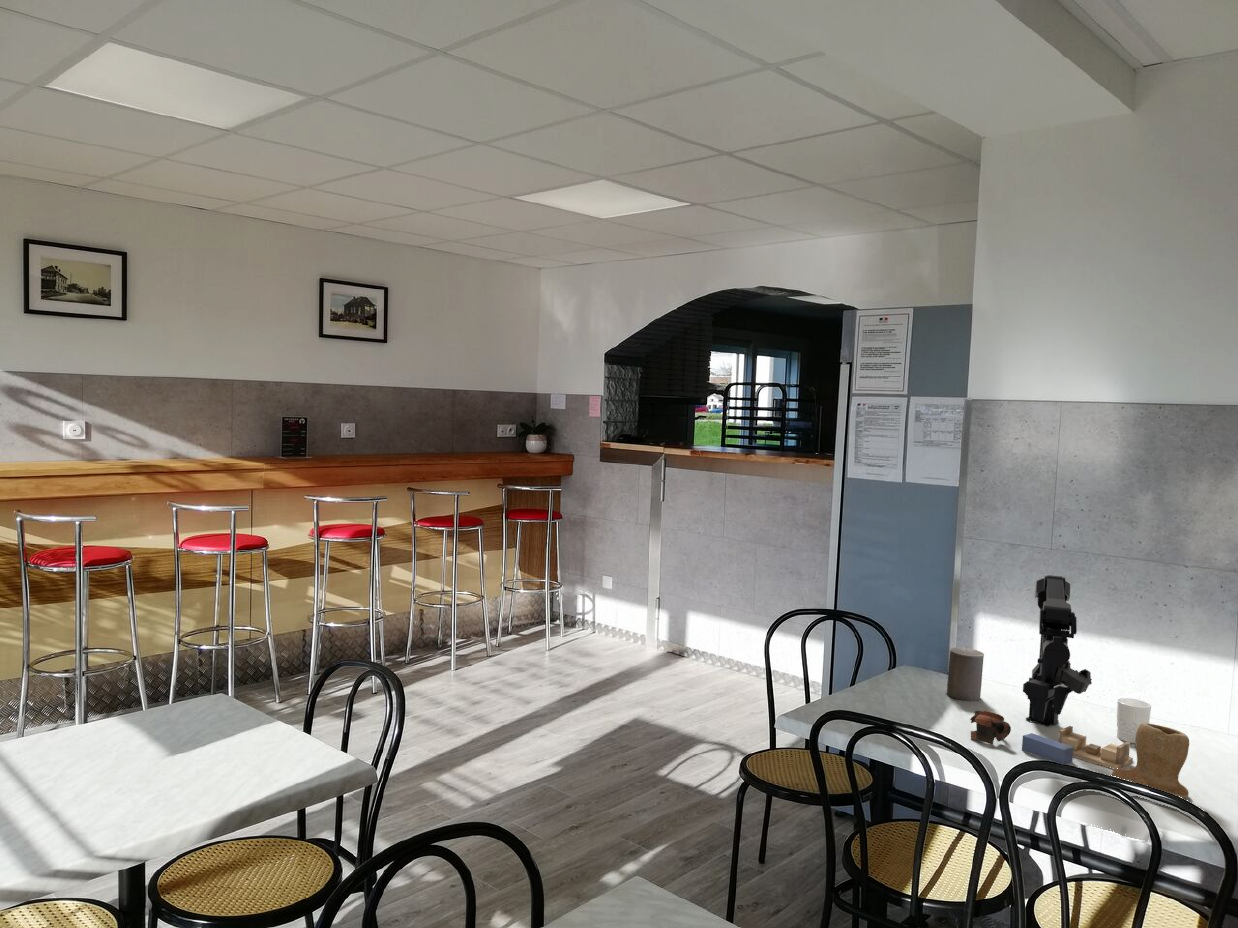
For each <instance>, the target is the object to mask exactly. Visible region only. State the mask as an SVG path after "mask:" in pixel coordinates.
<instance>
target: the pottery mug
mask: <svg viewBox="0 0 1238 928" xmlns="http://www.w3.org/2000/svg"><path fill="white" fill-rule="evenodd" d="M973 713H974V715H972V716H971V718H970V719H969V720H970V723H971V724H973V723H976V724H975V725H976V727H975V728H976V730H971V731H970V740H972V741H979V742H983V743H986V744H990V745H993V744H994V741H995V739H996V741H997V742H1002V741H1003V740H1004V739H1006V738H1007V737H1008V736H1009V735H1010V733H1011V731H1012V727H1011V725H1010V723H1009V722H1007V721H1005V717H1004V716H1003V715H1001V714H1000V713H999V714H998V713H996V712H993V711H987V710H974V712H973Z"/></svg>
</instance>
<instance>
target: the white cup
mask: <svg viewBox="0 0 1238 928" xmlns="http://www.w3.org/2000/svg"><path fill="white" fill-rule="evenodd" d="M1116 703H1117V704H1116V705H1117V707H1116V708H1117V709H1116V726H1117V729H1116V732H1117V733H1116V737H1117V739H1119V740H1120V741H1123V742H1129V743H1130V744H1135V745H1136V742H1135V738H1136V733H1137V730H1138V728H1139V726H1140V724H1142V723H1150V718H1151V713H1152V712H1151V711H1152V704H1151V703H1149V702H1147V701H1144V700H1141V699H1137V698H1136V699H1135V698H1131V697H1130V698H1129V697H1122V698H1121V697H1120V698H1117V702H1116Z"/></svg>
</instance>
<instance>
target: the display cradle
mask: <svg viewBox="0 0 1238 928" xmlns="http://www.w3.org/2000/svg"><path fill="white" fill-rule="evenodd" d="M1073 728H1074V726H1071V725H1069V726H1066V727H1064V728H1062V729H1059V730H1058V731H1059V733H1058V742H1060V743H1063V744H1066V745H1069V746H1072V747H1073V758H1074V759H1078V760H1081V759H1082V761H1085V762H1088V763H1091V762H1092V763H1091V764H1095V765H1098V764H1099V765H1098V766H1101V765H1102V766H1101V767H1104V766H1105V768H1108V767H1111V768H1114V769H1117V768H1120V767H1121V768H1123V767H1125V766H1126V765H1128V764H1130V763H1133V761H1134V760H1133V759H1134V758H1133V757H1132V756H1130V749H1131V748H1130V747H1131V743H1129V742H1126V741H1124V743H1122V744H1120V745H1117V744H1114V743H1110V744H1108V745H1105V746H1103V747H1102V746H1100V745H1098V744H1093V743H1089V744H1087V735H1083V734H1080V733H1075V732H1073ZM1111 768H1110V769H1111ZM1114 769H1113V770H1114Z"/></svg>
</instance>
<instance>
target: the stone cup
mask: <svg viewBox="0 0 1238 928" xmlns="http://www.w3.org/2000/svg"><path fill="white" fill-rule="evenodd" d="M1135 742H1136V744H1135V751H1136V765H1135V766H1134V767H1133V768H1130V769H1129V768H1123V767H1121V768H1118V769H1115V770H1114V769H1113V771H1112V772H1111V774H1110V776H1111V775H1112V776H1116V777H1119V778H1121V779H1125V780H1129V781H1132V782H1135V783H1139V784H1143V785H1148V786H1150V787H1153V788H1156V789H1159V790H1162V791H1165V792H1168V793H1171V794H1174V795H1175V796H1180V797H1182V798H1184V799H1186V798H1187V797H1189V789H1187V787H1186V786H1184V785H1183V784H1182V783H1180V781H1179V777H1180V776H1179V775H1180V772H1181V770H1182V768H1183V766H1184V764H1185V763H1186V761H1187V757H1188V754H1189V747H1190V739H1189V737H1188V736H1187V734H1185V733H1184V732H1182V731H1181V730H1178V729H1174V728H1171V727H1168V726H1164V725H1159V724H1155V723H1150V722H1149V723H1142V724H1140V726H1139V728H1138V730H1137V733H1136V738H1135Z"/></svg>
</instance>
